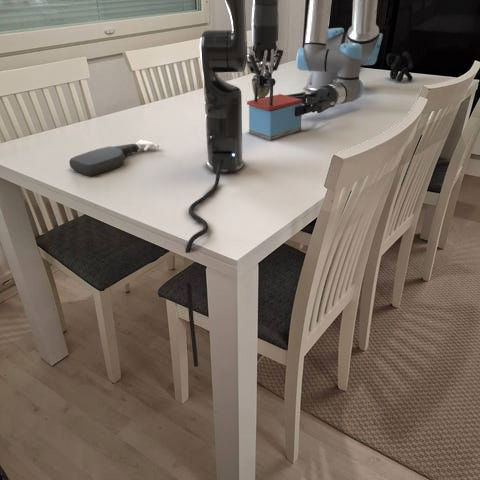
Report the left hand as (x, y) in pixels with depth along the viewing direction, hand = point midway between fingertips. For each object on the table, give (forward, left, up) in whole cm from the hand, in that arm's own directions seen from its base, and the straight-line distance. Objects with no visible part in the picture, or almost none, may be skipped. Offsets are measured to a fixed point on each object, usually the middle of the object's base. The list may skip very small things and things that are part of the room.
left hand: (263, 87), depth 132 cm
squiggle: (+75, -61, -15) cm, 98 cm away
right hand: (+6, -6, -8) cm, 12 cm away
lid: (+3, -3, -6) cm, 7 cm away
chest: (+4, -4, -15) cm, 16 cm away
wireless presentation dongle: (-20, +41, -15) cm, 48 cm away
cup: (+41, +1, -15) cm, 44 cm away
